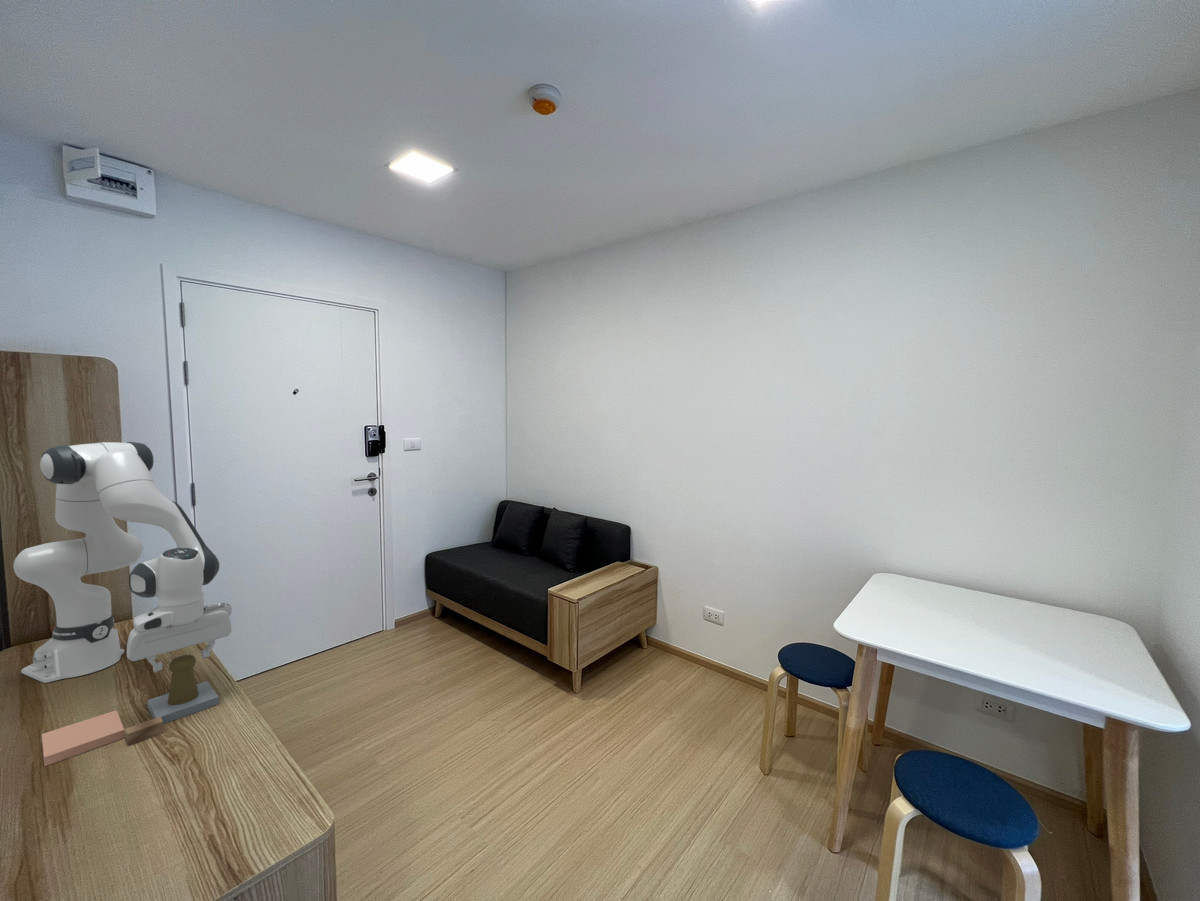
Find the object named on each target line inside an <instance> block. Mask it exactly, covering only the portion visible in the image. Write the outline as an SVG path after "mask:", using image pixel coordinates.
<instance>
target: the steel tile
mask: <svg viewBox="0 0 1200 901" xmlns="http://www.w3.org/2000/svg"><path fill="white" fill-rule="evenodd" d="M196 684H197V688H198V693H199V695H198V696H197V697H196V698H195V699H194V700H192V701H189V702H187V703H184V704H180V705H169V704H168V697H169V692H168V693H165V694H162V695H159V696H157V697H153V698H150V699H147V709H148V711H149V713H150V716H151V718H152V719H155V718H158V717H161V719H162V721H163V725H165V724H167V723H170V722H173V721H176V720H178V719H181V718H184V717H186V716H189V715H192V714H195V713H197V712H200V711H204V710H206V708H207V709H210V708H212V707H214V705H215V706H217V704H218V705H220V697H219V695H218V694H217V692H216V691H215V689H214V688H213V686H212V685H211V684H210V683H209V681H208V680H206V681H202V682H200V683H196ZM211 706H212V707H211Z"/></svg>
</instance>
